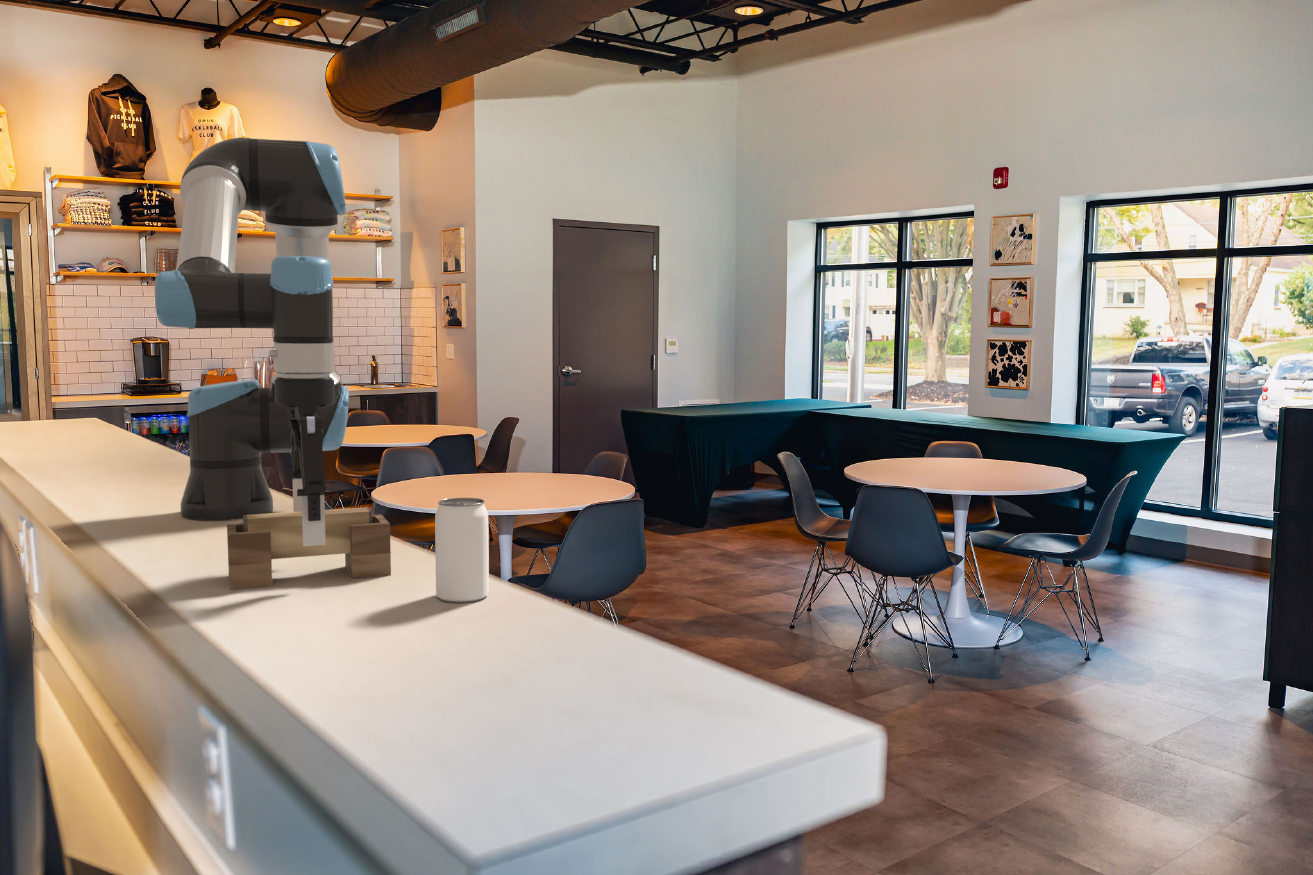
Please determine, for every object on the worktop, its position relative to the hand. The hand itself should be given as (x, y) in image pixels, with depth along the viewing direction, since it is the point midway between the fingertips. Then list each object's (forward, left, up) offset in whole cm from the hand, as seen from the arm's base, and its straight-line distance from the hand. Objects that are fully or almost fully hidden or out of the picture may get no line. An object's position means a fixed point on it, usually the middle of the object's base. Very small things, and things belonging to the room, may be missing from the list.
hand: (309, 534), depth 137 cm
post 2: (0, +7, -5) cm, 9 cm away
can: (+19, +16, -6) cm, 25 cm away
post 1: (0, -8, -5) cm, 9 cm away
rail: (0, 0, -2) cm, 3 cm away
